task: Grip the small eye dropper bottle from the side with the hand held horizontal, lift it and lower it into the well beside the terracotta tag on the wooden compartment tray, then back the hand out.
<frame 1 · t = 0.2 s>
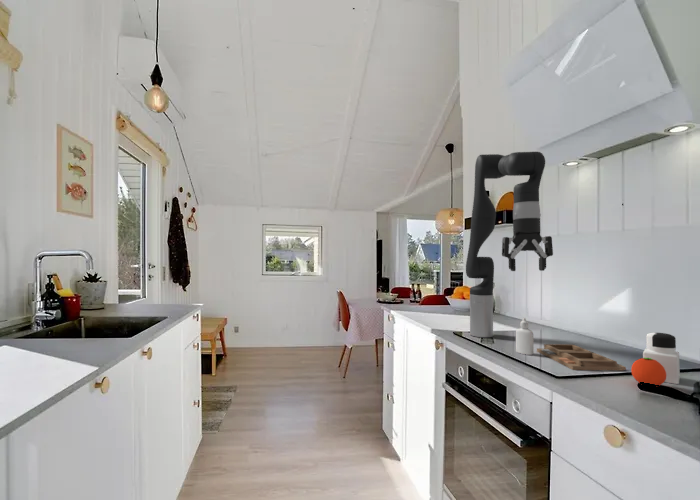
hand: (527, 270, 113), 28 cm above the worktop, tool pointing down, fingers open, 8 cm apart
wooden compartment tray: (577, 360, 118), on the worktop
eye dropper bottle: (524, 353, 126), on the worktop
medicine bottle: (661, 379, 99), on the worktop
clementine: (648, 386, 94), on the worktop
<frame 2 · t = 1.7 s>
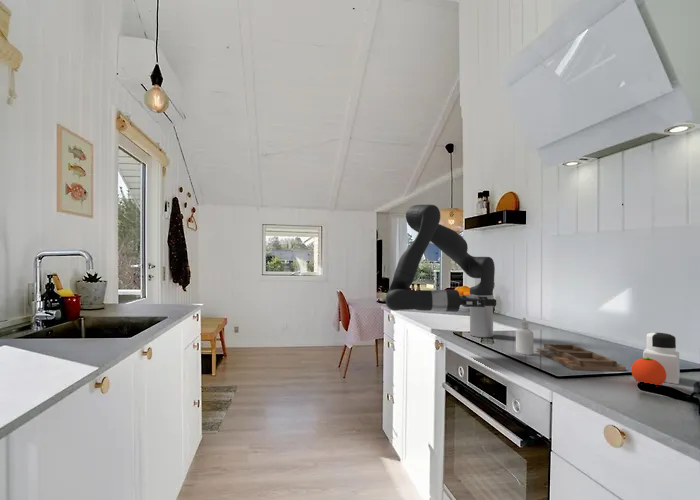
hand: (491, 301, 127), 18 cm above the worktop, tool horizontal, fingers open, 8 cm apart
nothing on the worktop moved.
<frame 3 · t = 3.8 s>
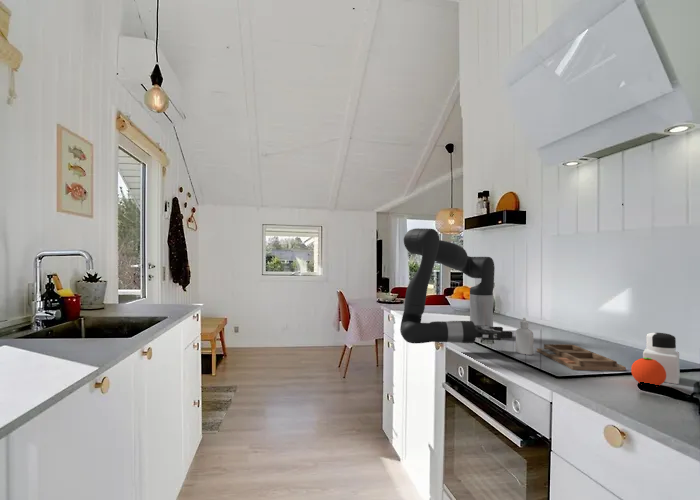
hand: (507, 332, 127), 7 cm above the worktop, tool horizontal, fingers open, 8 cm apart
nothing on the worktop moved.
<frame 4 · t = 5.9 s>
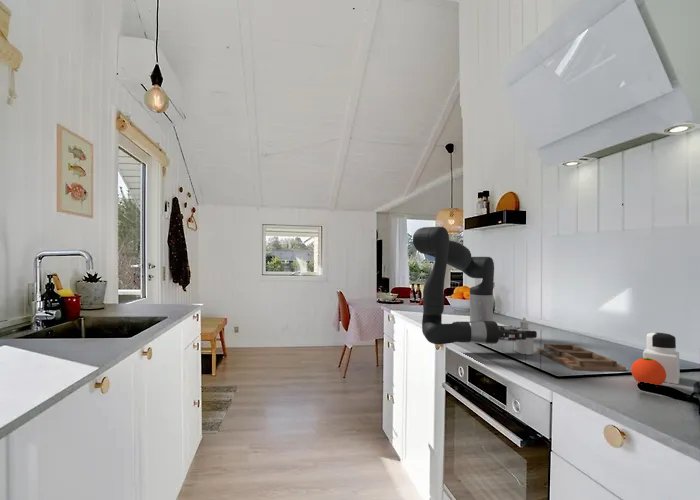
hand: (531, 332, 126), 7 cm above the worktop, tool horizontal, fingers closed on eye dropper bottle, 5 cm apart
eye dropper bottle: (524, 353, 126), on the worktop, touching gripper
everything else where it was.
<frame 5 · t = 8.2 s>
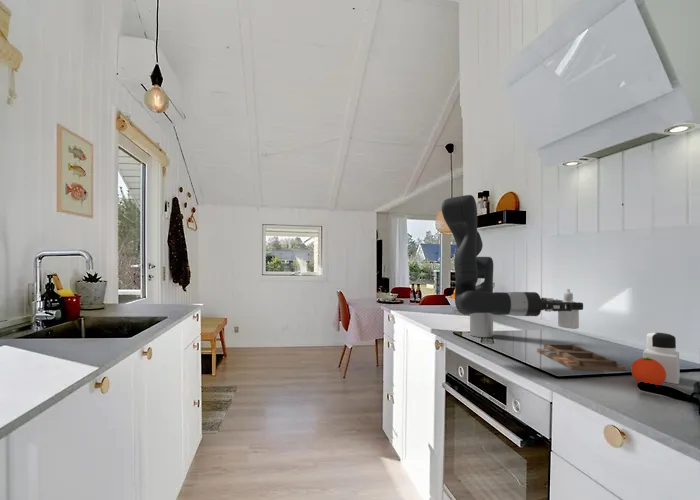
hand: (576, 305, 116), 18 cm above the worktop, tool horizontal, fingers closed on eye dropper bottle, 5 cm apart
eye dropper bottle: (568, 328, 116), point 10 cm above the worktop, touching gripper
everything else where it was.
when the fingers open (9 cm above the worktop, at t = 10.7 s): eye dropper bottle drops 1 cm, resting on wooden compartment tray.
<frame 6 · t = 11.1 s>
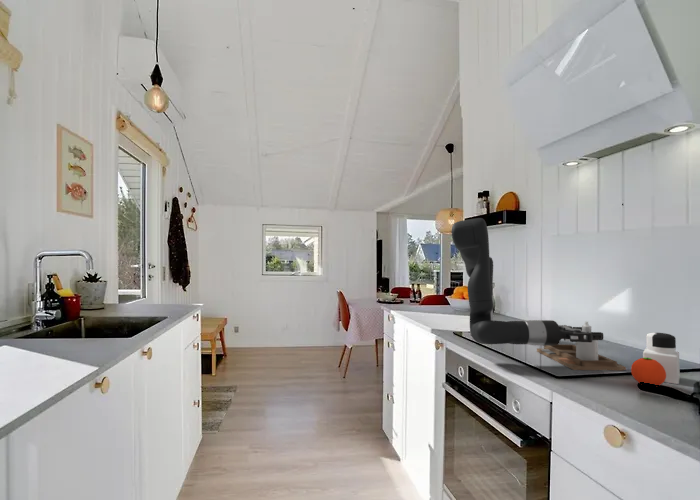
hand: (593, 333, 113), 10 cm above the worktop, tool horizontal, fingers open, 8 cm apart
eye dropper bottle: (587, 362, 112), point 1 cm above the worktop, touching wooden compartment tray
everything else where it was.
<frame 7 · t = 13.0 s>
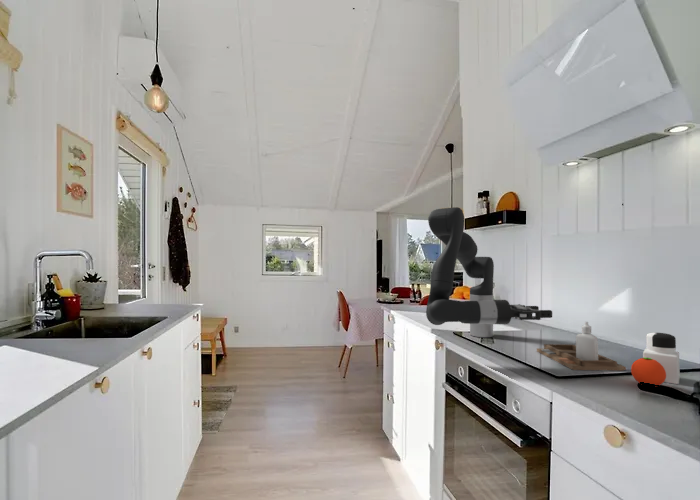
hand: (544, 311, 115), 16 cm above the worktop, tool horizontal, fingers open, 8 cm apart
nothing on the worktop moved.
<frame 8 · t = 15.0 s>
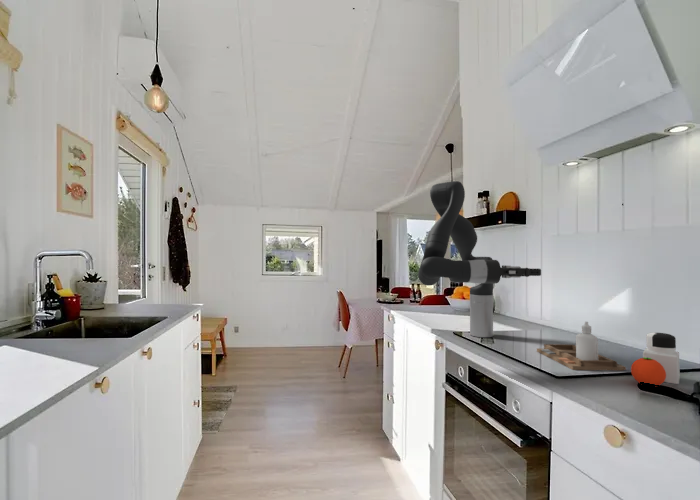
hand: (534, 271, 117), 28 cm above the worktop, tool horizontal, fingers open, 8 cm apart
nothing on the worktop moved.
at the end: eye dropper bottle 0.2 cm from the target spot on the wooden compartment tray, point 0.8 cm above the wooden compartment tray's base; eye dropper bottle tilted 0°; the gripper is holding nothing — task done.
